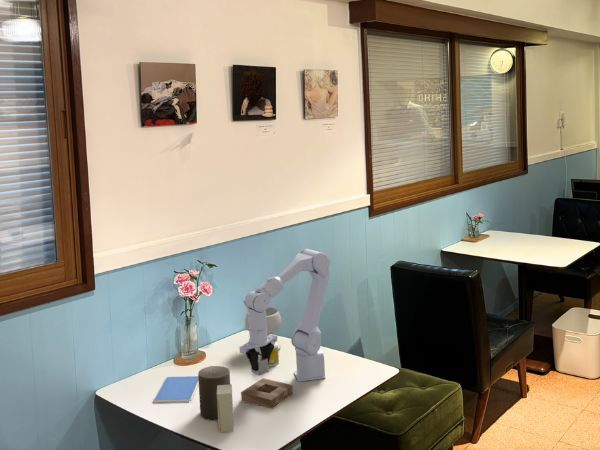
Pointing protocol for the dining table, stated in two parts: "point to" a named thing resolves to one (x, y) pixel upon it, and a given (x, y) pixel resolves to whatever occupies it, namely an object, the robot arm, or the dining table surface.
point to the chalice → (268, 323)
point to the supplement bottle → (274, 355)
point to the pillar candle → (211, 389)
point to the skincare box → (225, 408)
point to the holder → (273, 396)
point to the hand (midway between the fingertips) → (260, 367)
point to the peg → (261, 366)
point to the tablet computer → (177, 389)
